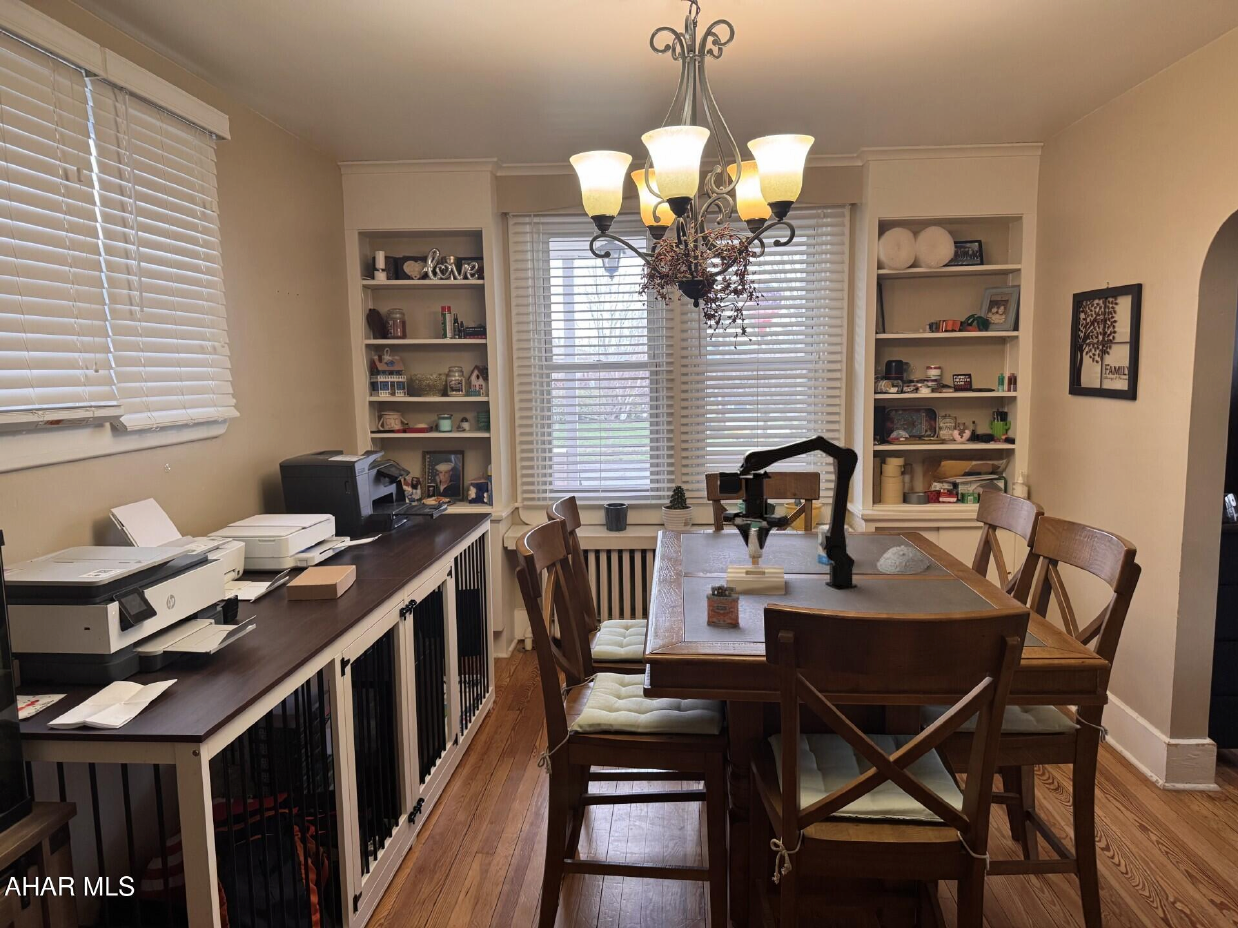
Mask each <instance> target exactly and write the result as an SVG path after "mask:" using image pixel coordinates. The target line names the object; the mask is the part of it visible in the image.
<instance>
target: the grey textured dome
mask: <svg viewBox="0 0 1238 928" xmlns="http://www.w3.org/2000/svg"><path fill="white" fill-rule="evenodd" d="M928 566H930V562H929V561H928V560H927V559H926V558H925V556H923V554H922V553H921V552H920V551H918V550H917V549H916V548H914V547H909V546H906V545H901V546H897V547H892V548H890V549H888V550H887V551H886V552H885V553H884V554H883V555H882V556H881V557H880V558H879V561H877V562H876V567H877V569H878V570H879V571H881V572H883V573H888V574H891V575H892V574H897V575H898V574H899V575H910V574H912V575H913V574H918V573H921V572H923V571H925V570H927V568H928Z"/></svg>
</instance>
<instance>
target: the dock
mask: <svg viewBox="0 0 1238 928" xmlns="http://www.w3.org/2000/svg"><path fill="white" fill-rule="evenodd" d="M726 571H727V572H726V578H725V584H726V585H725V587H726V586H735V587H736V592H731V595H738V594H739V595H740V594H741V595H779V594H786V591H785V590H786V587H785V586H786V581H785V572H784V567H783V566H770V565H769V566H764V565H763V566H759V565H728V567H727V570H726ZM726 593H727V594H728V592H726Z"/></svg>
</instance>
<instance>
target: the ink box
mask: <svg viewBox="0 0 1238 928" xmlns="http://www.w3.org/2000/svg"><path fill="white" fill-rule="evenodd" d="M828 528H829V524H825V525H820V526H818V532H817V533H818V534H817V535H818V536H817V537H818V538H817V539H818V541H817V542H818V545H817V546H818V548H817V563H820V564H823V565H827V566H830V563H832V562H831V561H830V560H829V559H828V557H827V556H826V555H825V554H824V553H823V551H822V547H821V546H820V543H821V540H822V536H821V532H827V530H828ZM844 532H845V538H846V550H847V553H848V554H849V545H850V544H849V543H850V542H849V541H850V539H849V537H850V527H849V526H846V525H845V527H844Z"/></svg>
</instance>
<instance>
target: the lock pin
mask: <svg viewBox="0 0 1238 928" xmlns="http://www.w3.org/2000/svg"><path fill="white" fill-rule="evenodd" d="M759 560H760V558H759V559H752V558H751V566H759V565H760V561H759Z"/></svg>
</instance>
